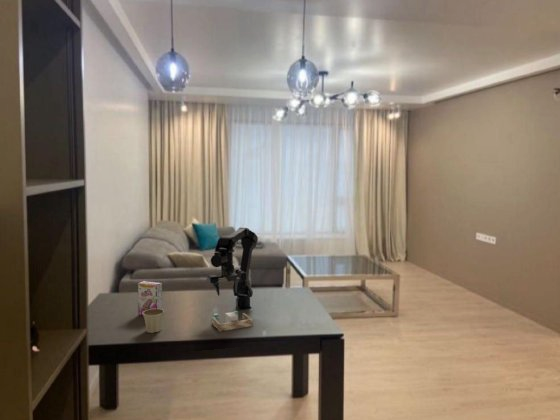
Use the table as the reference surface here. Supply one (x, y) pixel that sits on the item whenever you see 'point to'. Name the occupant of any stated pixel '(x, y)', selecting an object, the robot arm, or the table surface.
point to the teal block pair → (217, 315)
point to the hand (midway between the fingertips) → (227, 294)
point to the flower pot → (153, 319)
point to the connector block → (231, 317)
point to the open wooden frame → (233, 323)
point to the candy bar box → (149, 296)
